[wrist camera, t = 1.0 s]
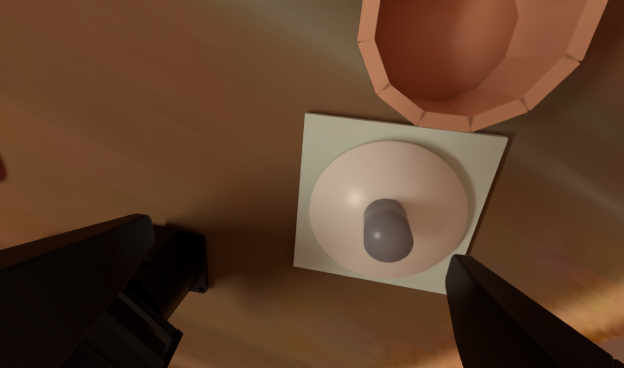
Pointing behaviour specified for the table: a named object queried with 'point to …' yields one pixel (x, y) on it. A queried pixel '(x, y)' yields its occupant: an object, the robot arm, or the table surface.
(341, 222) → the lid
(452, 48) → the bowl
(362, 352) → the table surface
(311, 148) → the mat
